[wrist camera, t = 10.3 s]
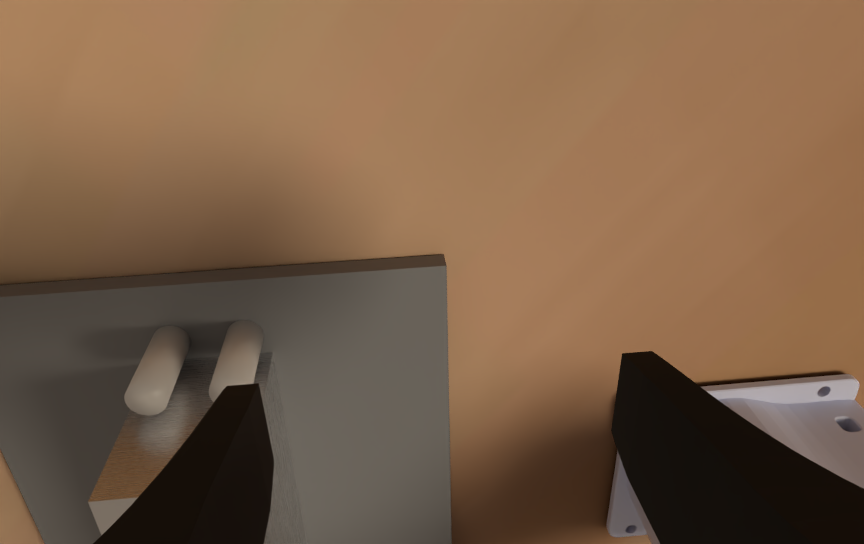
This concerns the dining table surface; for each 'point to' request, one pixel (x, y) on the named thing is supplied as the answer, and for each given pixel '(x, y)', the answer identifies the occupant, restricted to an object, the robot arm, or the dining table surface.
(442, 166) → the dining table surface
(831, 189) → the dining table surface
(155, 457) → the block
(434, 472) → the dock
